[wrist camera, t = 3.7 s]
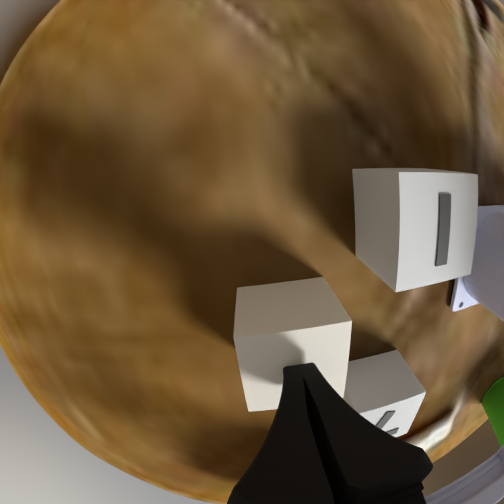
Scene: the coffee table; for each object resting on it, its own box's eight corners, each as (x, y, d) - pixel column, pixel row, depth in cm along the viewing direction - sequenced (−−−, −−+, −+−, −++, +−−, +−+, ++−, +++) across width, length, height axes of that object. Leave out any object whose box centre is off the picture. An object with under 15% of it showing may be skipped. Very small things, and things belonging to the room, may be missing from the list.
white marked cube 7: (396, 349, 17) (427, 392, 13) (385, 392, 19) (407, 434, 14) (335, 363, 17) (356, 415, 13) (331, 405, 19) (345, 453, 14)
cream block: (323, 276, 15) (352, 320, 11) (322, 344, 17) (343, 397, 12) (237, 286, 15) (233, 337, 11) (248, 354, 17) (248, 411, 12)
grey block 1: (422, 168, 13) (479, 174, 9) (421, 246, 15) (471, 275, 10) (351, 168, 14) (399, 172, 9) (354, 255, 15) (396, 293, 10)
